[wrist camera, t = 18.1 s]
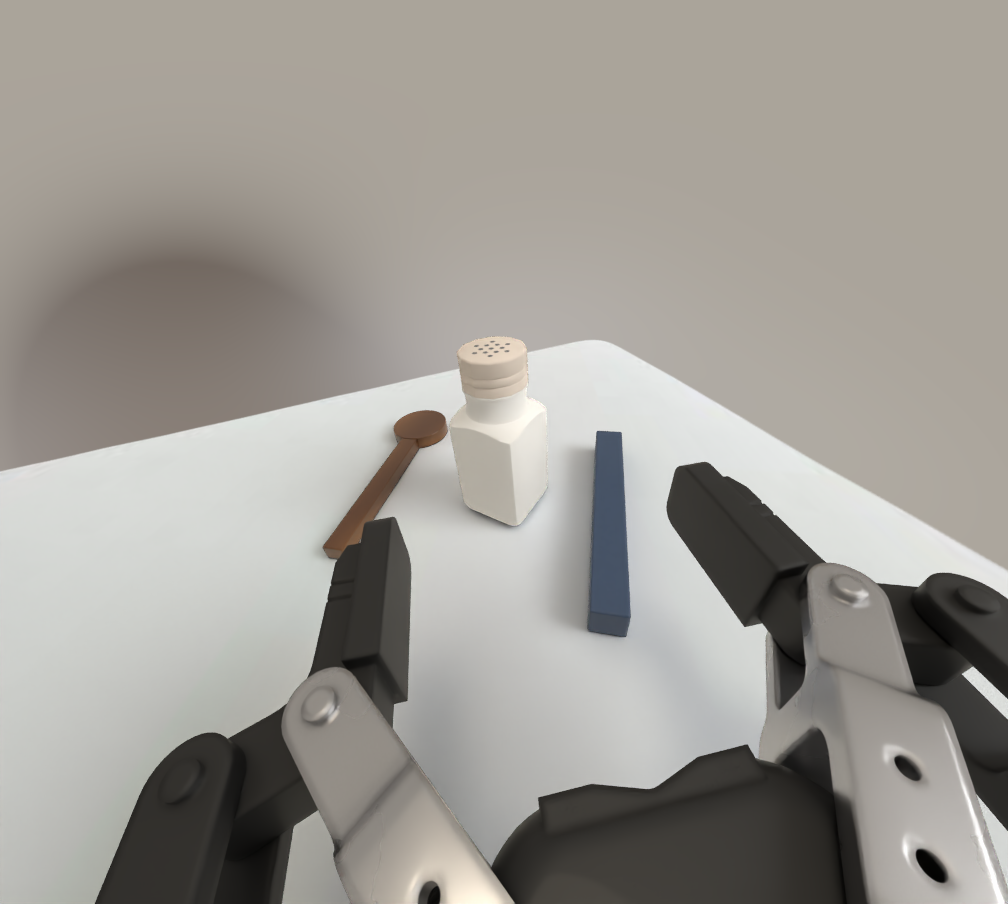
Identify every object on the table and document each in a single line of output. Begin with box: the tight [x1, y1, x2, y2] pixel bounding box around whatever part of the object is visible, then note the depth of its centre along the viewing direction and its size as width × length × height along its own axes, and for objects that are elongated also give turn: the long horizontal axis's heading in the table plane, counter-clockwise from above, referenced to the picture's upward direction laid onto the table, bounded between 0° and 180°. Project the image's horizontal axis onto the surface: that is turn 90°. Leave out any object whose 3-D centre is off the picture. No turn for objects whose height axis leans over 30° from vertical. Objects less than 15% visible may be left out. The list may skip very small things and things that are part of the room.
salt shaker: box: [449, 337, 548, 526], centre depth 20 cm, size 4×4×10 cm
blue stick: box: [588, 431, 631, 637], centre depth 20 cm, size 2×13×2 cm, turn 168°
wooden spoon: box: [323, 410, 447, 559], centre depth 25 cm, size 4×14×1 cm, turn 168°
